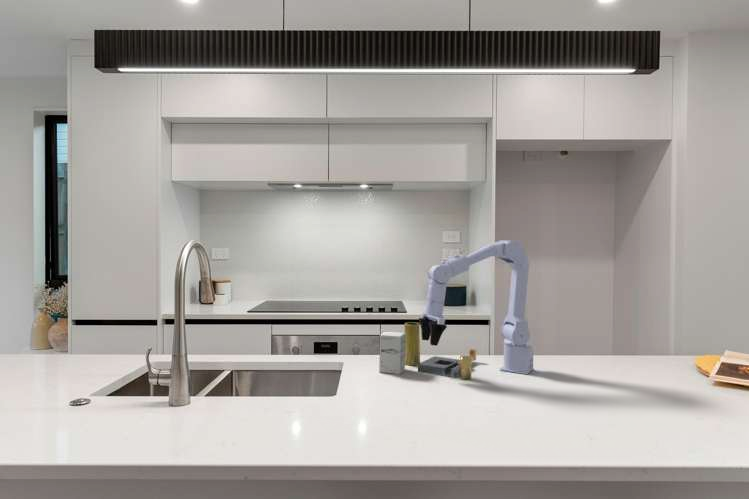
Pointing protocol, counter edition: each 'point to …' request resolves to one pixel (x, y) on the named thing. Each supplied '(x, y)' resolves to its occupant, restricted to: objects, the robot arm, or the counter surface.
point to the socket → (440, 366)
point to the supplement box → (392, 352)
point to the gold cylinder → (465, 367)
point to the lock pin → (472, 354)
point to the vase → (412, 344)
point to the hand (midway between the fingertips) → (429, 342)
